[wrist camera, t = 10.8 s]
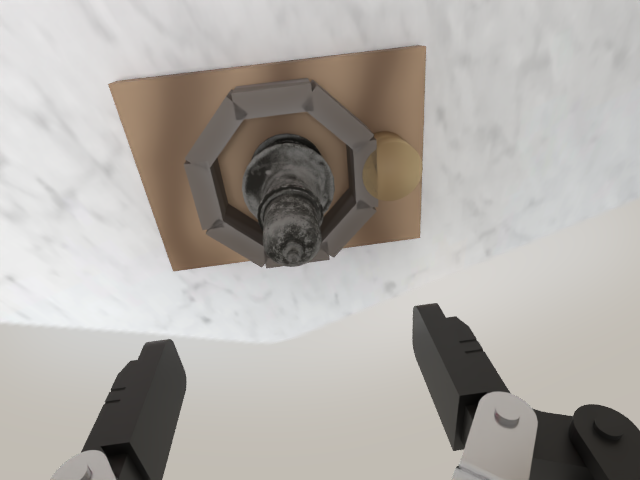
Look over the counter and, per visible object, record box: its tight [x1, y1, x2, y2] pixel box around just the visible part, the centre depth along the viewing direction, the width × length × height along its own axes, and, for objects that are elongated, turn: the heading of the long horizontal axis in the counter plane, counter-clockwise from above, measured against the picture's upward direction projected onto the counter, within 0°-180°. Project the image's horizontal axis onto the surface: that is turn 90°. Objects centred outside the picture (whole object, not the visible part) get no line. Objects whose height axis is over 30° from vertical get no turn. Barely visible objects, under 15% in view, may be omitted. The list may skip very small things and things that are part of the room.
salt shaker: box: [242, 133, 335, 267], centre depth 22 cm, size 6×6×12 cm
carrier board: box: [108, 45, 426, 271], centre depth 27 cm, size 20×14×4 cm
